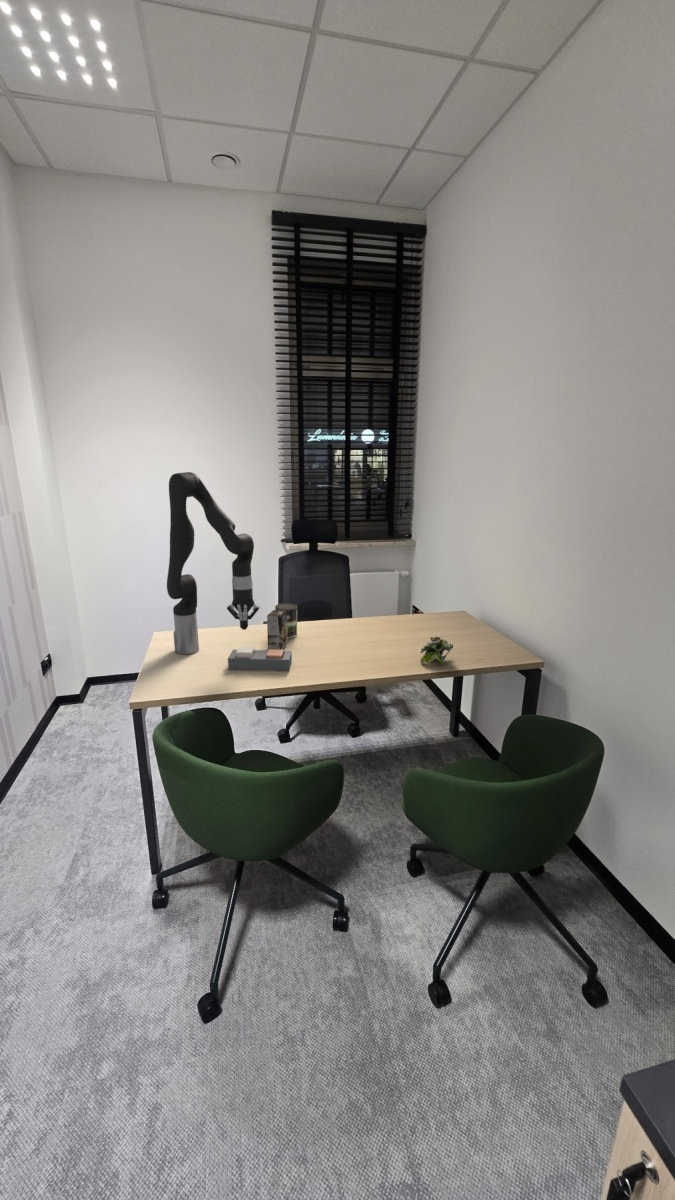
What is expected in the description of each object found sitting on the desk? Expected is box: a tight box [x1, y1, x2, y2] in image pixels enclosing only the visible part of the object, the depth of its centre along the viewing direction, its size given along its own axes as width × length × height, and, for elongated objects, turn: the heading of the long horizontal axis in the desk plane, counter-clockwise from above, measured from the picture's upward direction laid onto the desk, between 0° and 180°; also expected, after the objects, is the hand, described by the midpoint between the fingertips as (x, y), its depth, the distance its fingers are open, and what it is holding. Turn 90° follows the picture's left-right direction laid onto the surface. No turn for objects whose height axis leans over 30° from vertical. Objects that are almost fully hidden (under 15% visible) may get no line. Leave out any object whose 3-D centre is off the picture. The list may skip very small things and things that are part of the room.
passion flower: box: [420, 636, 454, 666], centre depth 199 cm, size 13×12×14 cm
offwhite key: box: [236, 646, 255, 658], centre depth 192 cm, size 6×6×3 cm
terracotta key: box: [267, 649, 285, 659], centre depth 193 cm, size 6×6×3 cm
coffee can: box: [274, 602, 298, 639], centre depth 226 cm, size 10×10×14 cm
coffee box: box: [266, 609, 288, 650], centre depth 211 cm, size 9×6×16 cm
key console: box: [227, 649, 293, 672], centre depth 193 cm, size 24×9×5 cm, turn 89°
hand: (244, 628), depth 189 cm, fingers closed
